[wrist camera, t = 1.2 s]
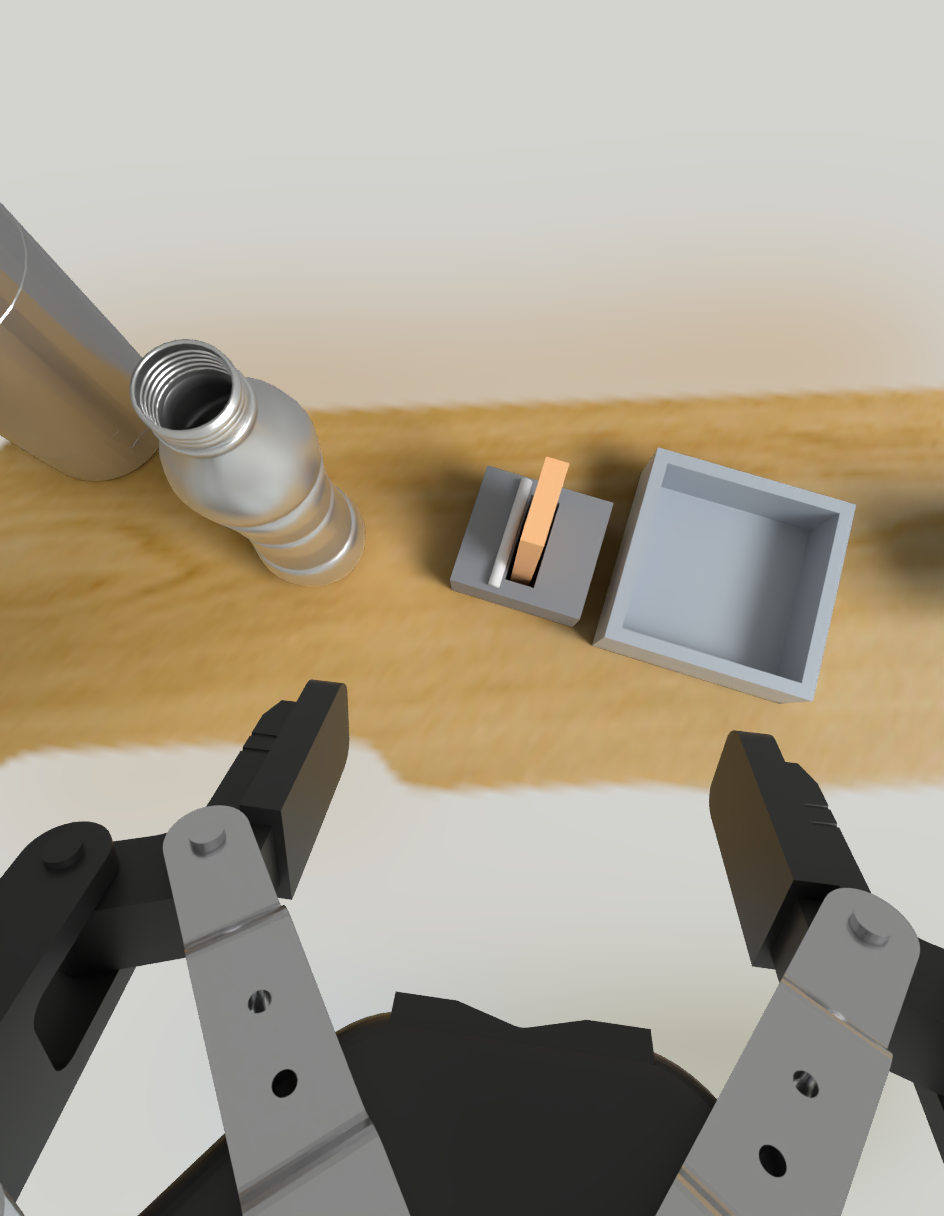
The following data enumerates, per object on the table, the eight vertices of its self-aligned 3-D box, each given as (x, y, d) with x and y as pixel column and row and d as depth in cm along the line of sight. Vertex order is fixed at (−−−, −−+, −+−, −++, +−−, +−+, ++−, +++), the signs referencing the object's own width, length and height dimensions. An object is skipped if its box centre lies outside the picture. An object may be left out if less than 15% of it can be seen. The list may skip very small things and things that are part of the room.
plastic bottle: (280, 490, 42) (111, 287, 23) (381, 506, 42) (299, 316, 22) (258, 585, 41) (60, 458, 22) (362, 602, 41) (256, 489, 21)
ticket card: (509, 583, 41) (520, 539, 31) (529, 519, 42) (546, 456, 32) (527, 589, 41) (543, 546, 31) (547, 524, 42) (569, 463, 32)
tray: (591, 645, 40) (604, 637, 36) (641, 473, 42) (658, 447, 38) (779, 703, 40) (812, 701, 36) (820, 525, 42) (856, 504, 38)
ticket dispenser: (451, 589, 41) (449, 576, 37) (486, 483, 42) (487, 460, 39) (572, 627, 41) (581, 617, 37) (603, 518, 42) (616, 499, 38)
